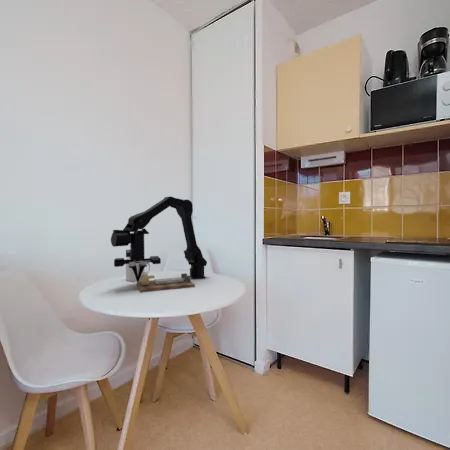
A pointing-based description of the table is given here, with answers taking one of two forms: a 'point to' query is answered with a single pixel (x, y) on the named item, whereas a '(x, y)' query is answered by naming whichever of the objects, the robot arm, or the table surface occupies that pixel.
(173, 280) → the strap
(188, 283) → the base
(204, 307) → the table surface
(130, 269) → the mug
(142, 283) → the gold t-shaped block
